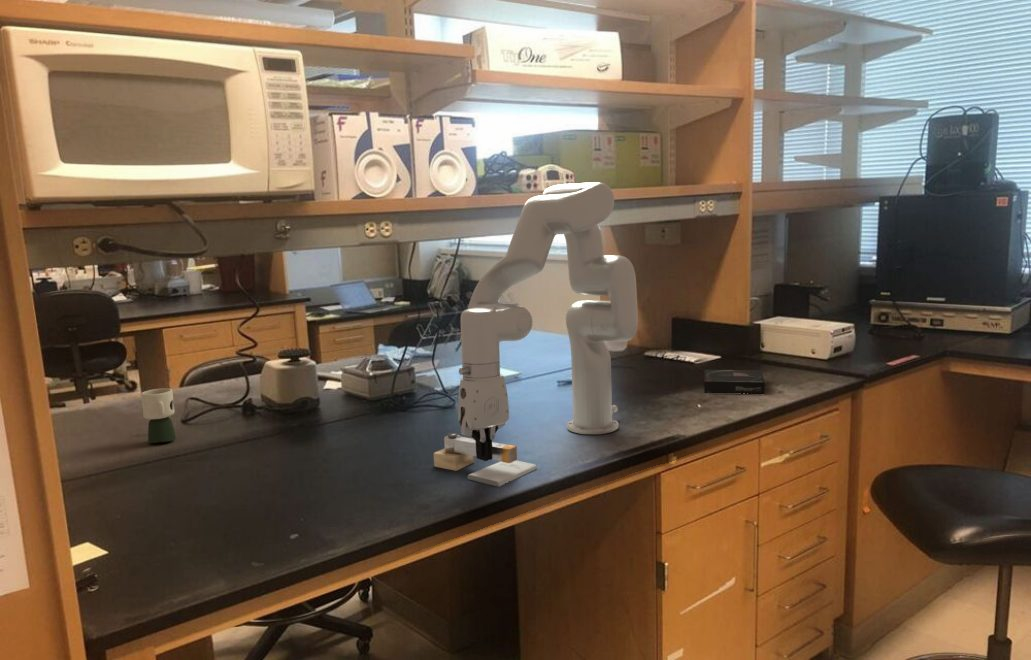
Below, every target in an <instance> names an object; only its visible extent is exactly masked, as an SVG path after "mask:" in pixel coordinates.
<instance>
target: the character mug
mask: <svg viewBox="0 0 1031 660" xmlns="http://www.w3.org/2000/svg"><path fill="white" fill-rule="evenodd" d="M140 397H141V398H140V399H141V406H142V414H143V415H142V416H143V418H144V419H146V420H149V421H148V427H147V441H148V443H149V444H153V443H161V444H165V442H171V441H174V440H176V439H177V437H176V432H175V427H174V424H173V421H172V419H171V416H173V415H174V414H175V403H174V393H173V389H172V388H167V387H166V388H153V389H148V390H145V391H142V392H141V393H140Z"/></svg>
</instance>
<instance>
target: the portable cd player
mask: <svg viewBox="0 0 1031 660" xmlns="http://www.w3.org/2000/svg"><path fill="white" fill-rule="evenodd" d="M703 375H704V378H703V379H704V383H703V384H704V387H703V390H704V393H741V394H740V395H751V394H765V395H766V390H765V389H766V382H765V379H764V378H765V377H764V375H763V372H762V369H761V370H760V369H759V370H757V369H756V370H755V369H743V370H742V369H704V374H703ZM704 393H703V394H704ZM743 393H745V394H743ZM747 393H748V394H747Z"/></svg>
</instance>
